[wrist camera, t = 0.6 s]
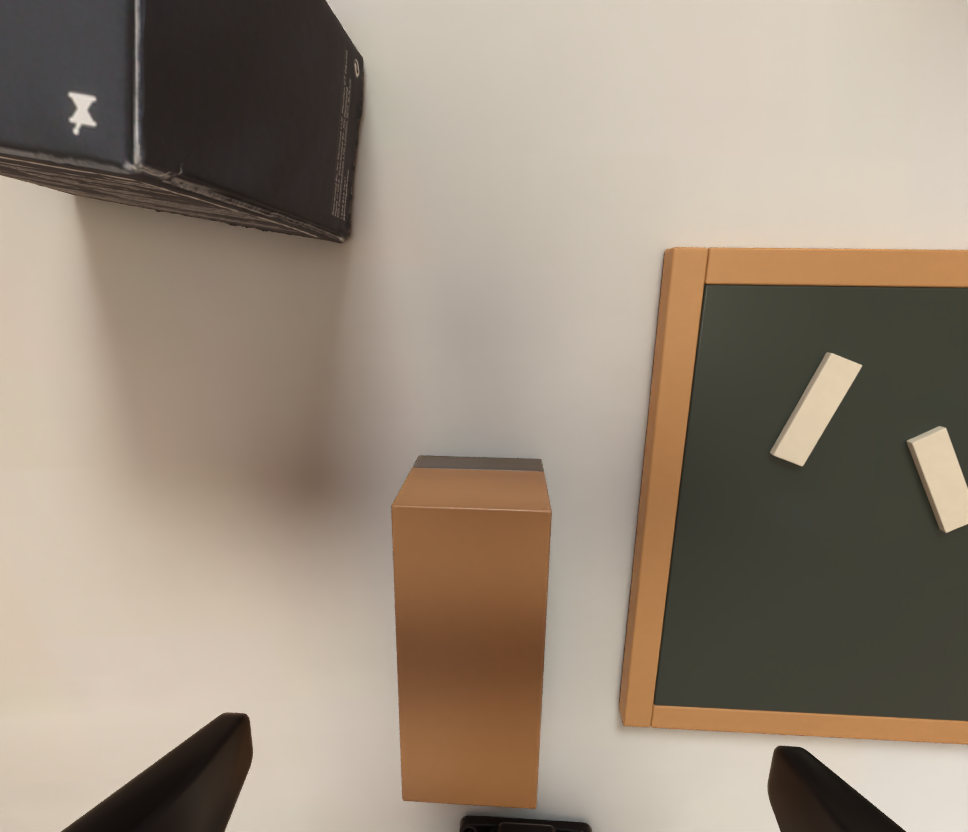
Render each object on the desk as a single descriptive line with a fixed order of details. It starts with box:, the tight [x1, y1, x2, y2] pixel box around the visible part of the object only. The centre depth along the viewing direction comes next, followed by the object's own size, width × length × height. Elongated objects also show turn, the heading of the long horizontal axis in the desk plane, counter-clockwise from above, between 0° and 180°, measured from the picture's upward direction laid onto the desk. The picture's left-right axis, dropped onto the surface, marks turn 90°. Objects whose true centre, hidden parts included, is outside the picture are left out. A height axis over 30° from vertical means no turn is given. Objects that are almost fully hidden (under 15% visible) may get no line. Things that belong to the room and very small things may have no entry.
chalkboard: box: [619, 247, 968, 744], centre depth 19 cm, size 20×16×1 cm
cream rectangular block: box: [906, 426, 968, 533], centre depth 18 cm, size 4×1×1 cm, turn 29°
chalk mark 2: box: [770, 352, 862, 466], centre depth 18 cm, size 4×1×1 cm, turn 159°
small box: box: [0, 0, 363, 243], centre depth 12 cm, size 11×6×10 cm, turn 80°
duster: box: [391, 456, 552, 809], centre depth 19 cm, size 12×5×5 cm, turn 179°
